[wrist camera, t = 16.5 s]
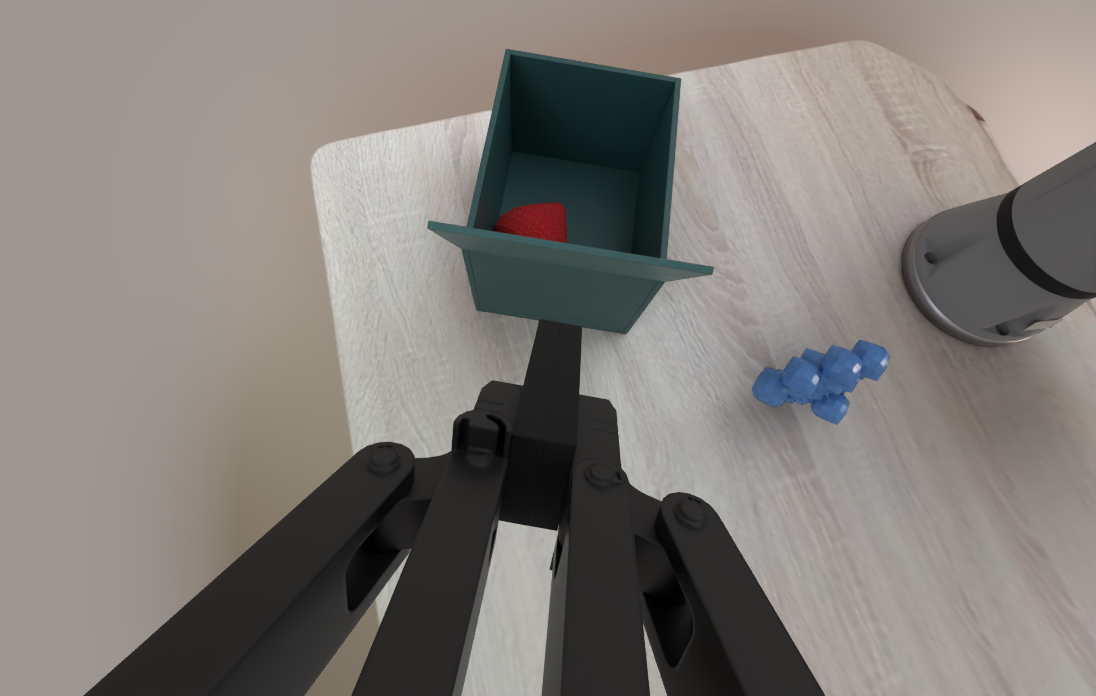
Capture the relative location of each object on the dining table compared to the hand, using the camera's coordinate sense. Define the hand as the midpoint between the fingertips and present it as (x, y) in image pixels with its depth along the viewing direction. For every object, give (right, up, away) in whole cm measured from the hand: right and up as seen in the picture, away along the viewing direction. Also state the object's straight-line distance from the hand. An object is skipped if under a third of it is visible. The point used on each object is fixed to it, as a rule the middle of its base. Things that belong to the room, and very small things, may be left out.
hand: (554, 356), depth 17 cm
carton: (+1, +12, +32) cm, 34 cm away
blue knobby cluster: (+23, -5, +29) cm, 37 cm away
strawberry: (+1, +14, +29) cm, 32 cm away
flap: (+1, +6, +12) cm, 13 cm away
